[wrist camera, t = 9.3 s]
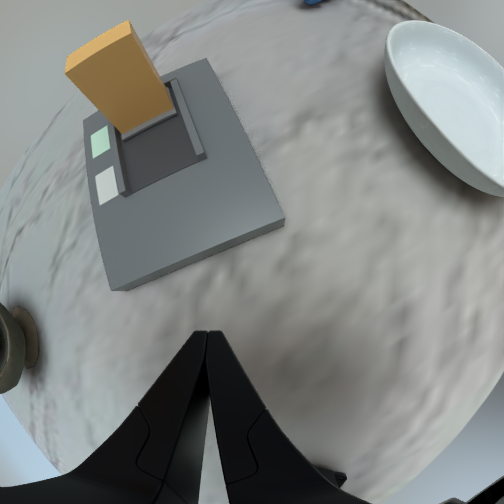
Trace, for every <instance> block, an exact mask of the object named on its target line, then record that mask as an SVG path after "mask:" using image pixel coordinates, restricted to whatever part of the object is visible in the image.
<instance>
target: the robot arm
mask: <svg viewBox="0 0 504 504" xmlns="http://www.w3.org/2000/svg"><path fill="white" fill-rule="evenodd" d="M210 400H211V407H212V413H213V420H214V426H215V432H216V438H217V444H218V449H219V455H220V460H221V465H222V470H223V475H224V480H225V485H226V490H227V494H228V499H229V503H230V504H371V503H369V502H367V501H364V500H362V499H360V498H357V497H355V496H353V495H351V494H349V493H347V492H345V491H343V490H341V489H339V488H340V487H341V486H342V485H343V484H344V482H345V481H346V480H347V476H346V474H344V473H338V472H333V471H332V470H327V469H322V468H317V467H314V466H313V465H312V464H311V463H310V462H309V461H308V460H307V459H306V458H305V457H304V456H303V455H302V454H301V452H300V451H299V450H298V449H297V448H296V447H295V446H294V445H293V444H292V442H291V441H290V440H289V439H288V438H287V437H286V435H285V434H284V433H283V432H282V430H281V429H280V427H279V426H278V424H277V423H276V422H275V420H274V419H273V417H272V415H271V414H270V412H269V411H268V409H266V406H265V405H264V403H263V401H262V400H261V398H260V396H259V395H258V393H257V391H256V390H255V388H254V386H253V385H252V383H251V381H250V380H249V378H248V376H247V374H246V373H245V371H244V369H243V368H242V366H241V364H240V362H239V361H238V359H237V357H236V355H235V354H234V352H233V350H232V348H231V346H230V345H229V343H228V341H227V339H226V337H225V335H224V334H223V332H222V331H209V332H207V331H194V332H193V333H192V335H191V336H190V337H189V339H188V340H187V341H186V343H185V344H184V345H183V346H182V348H181V349H180V350H179V352H178V353H177V354H176V355H175V357H174V358H173V359H172V361H171V362H170V363H169V364H168V366H167V367H166V368H165V370H164V371H163V372H162V373H161V375H160V376H159V377H158V379H157V380H156V381H155V382H154V384H153V385H152V386H151V388H150V389H149V390H148V391H147V393H146V394H145V395H144V397H143V398H142V399H141V400H140V402H139V403H138V406H139V407H138V406H136V407H135V408H134V409H133V411H132V412H131V413H130V414H129V416H128V417H127V418H126V419H125V420H124V422H123V423H122V424H121V425H120V426H119V427H118V428H117V430H116V431H115V432H114V433H113V434H112V435H111V436H110V437H109V438H108V439H107V440H106V441H105V442H104V443H103V444H102V445H101V446H100V447H98V448H97V449H96V450H95V451H94V452H93V453H92V454H91V455H90V456H89V457H88V458H87V459H86V460H85V461H84V462H83V463H82V464H80V465H79V466H78V467H77V468H75V469H74V470H72V471H71V472H69V473H67V474H64V475H61V476H58V477H54V478H50V479H46V480H42V481H38V482H33V483H28V484H23V485H18V486H12V487H0V504H198V500H199V490H200V481H201V471H202V463H203V454H204V445H205V437H206V429H207V421H208V413H209V405H210ZM340 478H342V479H340ZM440 504H504V476H502V477H501V478H499V479H498V480H496V481H495V482H494V483H492V484H491V485H489V486H488V487H487V488H485V489H484V490H482V491H481V492H480V493H478V494H477V495H475V496H474V497H473V498H471V499H470V500H468V501H467V502H463V501H461V500H459V499H457V498H450V499H448V500H446V501H444V502H442V503H440Z"/></svg>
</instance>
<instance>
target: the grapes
mask: <svg viewBox="0 0 504 504" xmlns="http://www.w3.org/2000/svg"><path fill="white" fill-rule="evenodd" d="M304 1H305V2H306V3H307V4H309V5H313V4H316V3H318V2H320V1H324V0H304Z"/></svg>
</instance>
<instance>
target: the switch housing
mask: <svg viewBox="0 0 504 504" xmlns="http://www.w3.org/2000/svg"><path fill="white" fill-rule="evenodd" d="M160 78H161V79H162V81H163V83H164V85H165V87H166V88H167V87H168V88H169V91H170V94H171V97H172V100H173V103H174V106H175V109H176V112H177V115H175V116H173V117H170V118H168V119H166V120H164V121H162V122H160V123H158V124H156V125H154V126H152V127H150V128H148V129H146V130H144V131H142V132H140V133H138V134H136V135H135V136H133V137H131V138H129V139H127V140H126V141H123V140H122V136H121V133H120V132H119V130H118V129H117V128H116V127H115V126H114V125H113V124H112V123H111V122H110V121H109V120H108V119H107V118H106V117H105V116H104V115H103V114H102V113H101V112H100V111H97V112H96V113H94V114H92V115H91V116H89V117H88V118H86V119H85V120H83V126H84V144H85V157H86V167H87V176H88V184H89V191H90V198H91V205H92V211H93V216H94V222H95V227H96V232H97V237H98V242H99V246H100V251H101V255H102V259H103V263H104V267H105V271H106V275H107V279H108V282H109V286H110V289H111V291H128V290H131V289H133V288H135V287H138V286H140V285H142V284H145V283H147V282H149V281H152V280H154V279H156V278H159V277H161V276H164V275H166V274H168V273H171V272H173V271H175V270H178V269H180V268H183V267H185V266H187V265H190V264H192V263H195V262H197V261H199V260H202V259H204V258H207V257H209V256H211V255H214V254H216V253H219V252H221V251H224V250H226V249H228V248H231V247H233V246H236V245H238V244H241V243H243V242H245V241H248V240H250V239H253V238H255V237H258V236H260V235H263V234H265V233H268V232H270V231H273V230H275V229H277V228H280V227H282V226H284V220H285V217H284V214H283V212H282V210H281V208H280V206H279V203H278V201H277V199H276V197H275V194H274V192H273V190H272V188H271V186H270V184H269V181H268V179H267V177H266V175H265V173H264V171H263V168H262V166H261V164H260V162H259V160H258V158H257V156H256V154H255V152H254V150H253V147H252V145H251V143H250V141H249V139H248V137H247V135H246V133H245V131H244V129H243V127H242V125H241V123H240V121H239V119H238V117H237V115H236V113H235V111H234V109H233V107H232V105H231V103H230V101H229V99H228V97H227V95H226V94H225V92H224V90H223V88H222V86H221V84H220V82H219V80H218V78H217V76H216V75H215V73H214V71H213V69H212V67H211V65H210V63H209V62H208V60H207V58H205V59H202V60H199V61H197V62H194V63H192V64H189V65H187V66H184V67H182V68H179V69H177V70H175V71H172V72H170V73H168V74H166V75H163V76H161V77H160Z"/></svg>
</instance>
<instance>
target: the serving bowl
mask: <svg viewBox="0 0 504 504" xmlns="http://www.w3.org/2000/svg"><path fill="white" fill-rule="evenodd" d="M384 63H385V72H386V77H387V81H388V84H389V87H390V90H391V93H392V95H393V98H394V100H395V102H396V104H397V106H398V108H399V110H400V112H401V114H402V115H403V117H404V119H405V120H406V122H407V123H408V125H409V126H410V128H411V129H412V131H413V132H414V133H415V135H416V136H417V137H418V139H419V140H420V141H421V142H422V144H423V145H424V146H425V147H426V148H427V149H428V150H429V152H430V153H431V154H432V155H433V156H434V157H435V158H436V159H437V160H438V161H439V162H440V163H441V164H442V165H443V166H445V167H446V168H447V169H448V170H449V171H450V172H452V173H453V174H454V175H455V176H457V177H458V178H459V179H461V180H462V181H464V182H465V183H467V184H469V185H470V186H472V187H474V188H476V189H478V190H480V191H482V192H485V193H488V194H491V195H494V196H499V197H504V68H503V67H501V65H500V64H498V62H497V61H495V60H494V59H493V58H492V57H491V56H490V55H489V54H488V53H486V52H485V51H484V50H483V49H482V48H480V47H479V46H478V45H476V44H475V43H473V42H472V41H471V40H469V39H467V38H466V37H464V36H462V35H461V34H459V33H457V32H455V31H452V30H450V29H448V28H446V27H443V26H440V25H437V24H434V23H430V22H425V21H414V20H412V21H404V22H401V23H398V24H397V25H395V26H394V27H392V28H391V29H390V31H389V32H388V35H387V37H386V43H385V52H384Z"/></svg>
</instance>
